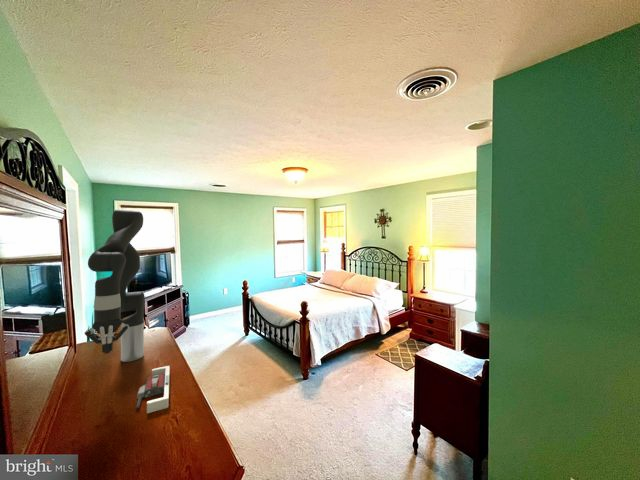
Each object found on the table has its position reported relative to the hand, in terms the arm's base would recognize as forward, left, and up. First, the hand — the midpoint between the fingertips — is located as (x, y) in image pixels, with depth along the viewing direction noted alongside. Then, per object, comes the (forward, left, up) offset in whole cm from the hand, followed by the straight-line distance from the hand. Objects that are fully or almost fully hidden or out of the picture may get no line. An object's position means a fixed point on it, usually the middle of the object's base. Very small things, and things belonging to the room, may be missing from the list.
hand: (107, 352), depth 93 cm
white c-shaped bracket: (0, +16, -19) cm, 25 cm away
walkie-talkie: (0, +14, -20) cm, 24 cm away
